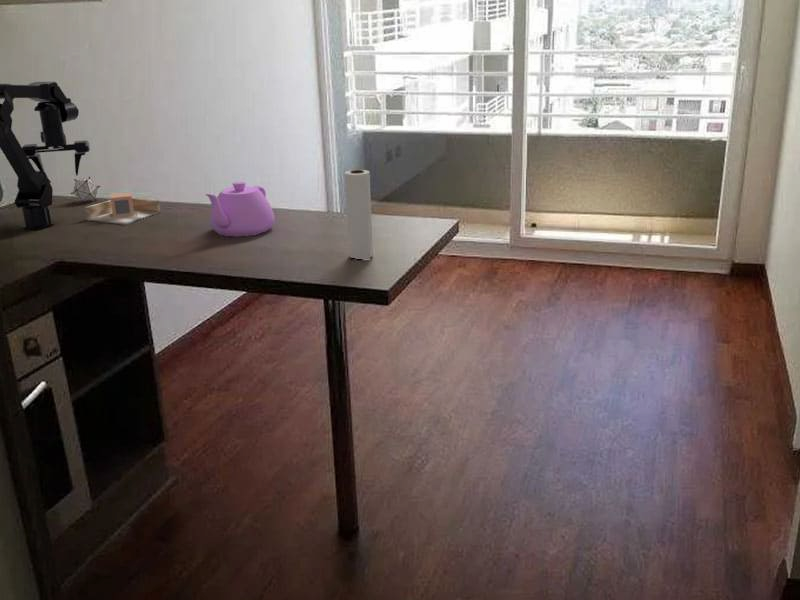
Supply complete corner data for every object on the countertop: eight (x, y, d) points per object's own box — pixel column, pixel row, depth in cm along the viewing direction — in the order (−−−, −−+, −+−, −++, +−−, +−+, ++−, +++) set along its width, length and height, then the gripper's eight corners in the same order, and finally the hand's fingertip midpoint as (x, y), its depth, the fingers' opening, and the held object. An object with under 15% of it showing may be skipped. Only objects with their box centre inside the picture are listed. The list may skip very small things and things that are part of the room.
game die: (91, 211, 268) (99, 184, 270) (98, 206, 261) (106, 178, 263) (64, 201, 263) (73, 173, 265) (70, 196, 256) (79, 167, 259)
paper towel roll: (351, 253, 201) (346, 168, 193) (374, 253, 200) (371, 168, 192) (346, 261, 194) (341, 174, 186) (370, 262, 193) (367, 174, 186)
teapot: (243, 218, 238) (238, 172, 233) (292, 223, 230) (288, 176, 226) (186, 239, 217) (180, 190, 213) (238, 246, 210) (233, 195, 205)
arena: (124, 224, 234) (122, 211, 232) (86, 220, 240) (84, 207, 239) (160, 213, 246) (158, 200, 245) (123, 209, 253) (121, 196, 251)
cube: (134, 215, 242) (131, 196, 240) (113, 217, 240) (110, 198, 238) (133, 211, 247) (130, 192, 245) (113, 213, 245) (110, 194, 243)
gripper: (86, 119, 248) (94, 169, 253) (21, 123, 243) (31, 174, 248) (84, 124, 238) (92, 175, 243) (16, 128, 233) (26, 181, 238)
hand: (61, 176), depth 243 cm, fingers open, 9 cm apart
